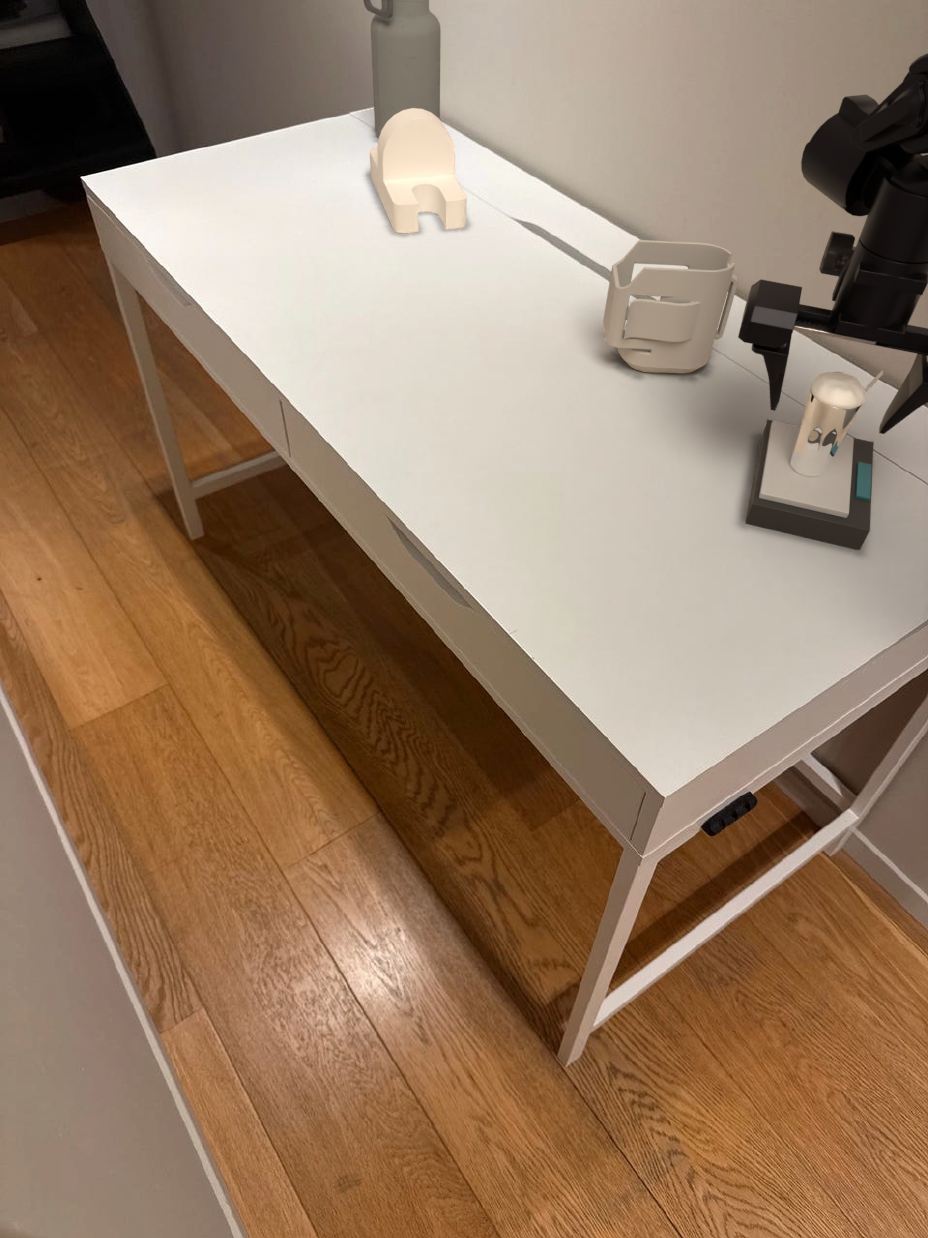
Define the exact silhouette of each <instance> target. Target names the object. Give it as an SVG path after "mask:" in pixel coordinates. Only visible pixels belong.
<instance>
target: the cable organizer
mask: <svg viewBox="0 0 928 1238" xmlns="http://www.w3.org/2000/svg"><path fill="white" fill-rule="evenodd" d="M732 255H733V252H731V251H730V250H728V249H727V248H724V247H722V246H720V245H717V244H713V243H707V242H696V241H695V242H694V241H691V242H690V241H674V240H673V241H672V240H671V241H670V240H652V239H651V240H648V239H639V240H638V241H636V243H635V244H634V245H633V246H632V247H631V249H630V250H629V251H628V252H627V253H626V254H625V255H624V257H622V258H621V259H620V260H618V261H617V262H615V263H614V264H612V265H611V269H610V276H609V282H608V288H607V295H606V302H605V307H604V312H603V318H602V319H603V320H602V323H603V331H604V341H605V344H606V345H608V346H610V347H613V348H617V351H618V355H619V356H620V357H621V358H622V359H623V361H625V363H627V365H628V366H629V367H630V368H632V369H633V370H636V371H638V372H640V373H641V372H642V373H653V374H654V373H655V374H656V373H665V374H688V373H689V374H690V373H692V372H695V371H697V370H698V369H700V368H702V367H704V366H705V365H707V363H709V360H710V357H711V354H712V351H713V346H714V343H715V340H720V339H721V338H723V336H724V333H725V330H726V326H727V323H728V320H729V315H730V312H731V309H732V306H733V305H732V304H733V302H734V297H735V294H736V291H737V287H738V284H739V279H738V276H737V275H736V273H734V270H735V266H736V262H731V260H732ZM635 264H637V265H639V264H641V265H659V266H661V265H662V266H680V267H681V266H682V267H687V268H670V267H651V266H650V267H649V266H644V267H643V268H642V269H641V270H640V271H639V272H638V274H637V275H635V277H634V278H632V277H633V273H634V267H635ZM631 296H638V297H641V296H644V297H660V298H659V300H656V299H649V298H636V299H633V300H631V302H630V297H631ZM629 303H630V304H629ZM625 324H626V325H625ZM625 326H626V327H625Z"/></svg>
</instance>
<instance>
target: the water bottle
mask: <svg viewBox="0 0 928 1238" xmlns="http://www.w3.org/2000/svg"><path fill="white" fill-rule="evenodd" d="M380 2H381V3H380V4H381V8H377V7H376V6H374V5H373V4H372V2H371V0H363V5H364V8H365V9H366V11H368V12H369V13H372V14H373V15H374V16H373V18H372V20H371V23H370V44H371V46H370V47H371V68H372V88H373V89H372V90H373V93H372V94H373V95H372V96H373V114H374V115H373V116H374V118H373V119H374V130H375V133H376V135H377V137H379V136H380V133H381V130H382V129H383V127H384V126H385V124H386V123H387V121H388V120H389V119H391V118H392V117H393V116H394V115H395V114H397V113H399V112H401V111H403V110H406V109H411V108H417V109H424V110H426V111H429V112H431V113H433V114H434V115H435V116H436V117H438V118H439V120H440V121H441V35H442V34H441V32H442V31H441V23H440V21H439V19H438V17H437V16H436V15H435V14H434V13H433V12H432V11H431V10H430V0H380Z"/></svg>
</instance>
